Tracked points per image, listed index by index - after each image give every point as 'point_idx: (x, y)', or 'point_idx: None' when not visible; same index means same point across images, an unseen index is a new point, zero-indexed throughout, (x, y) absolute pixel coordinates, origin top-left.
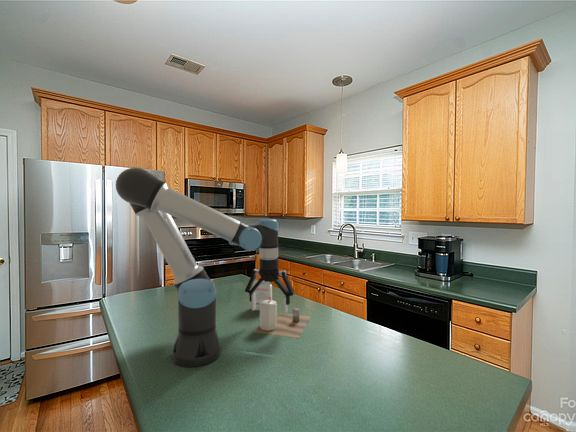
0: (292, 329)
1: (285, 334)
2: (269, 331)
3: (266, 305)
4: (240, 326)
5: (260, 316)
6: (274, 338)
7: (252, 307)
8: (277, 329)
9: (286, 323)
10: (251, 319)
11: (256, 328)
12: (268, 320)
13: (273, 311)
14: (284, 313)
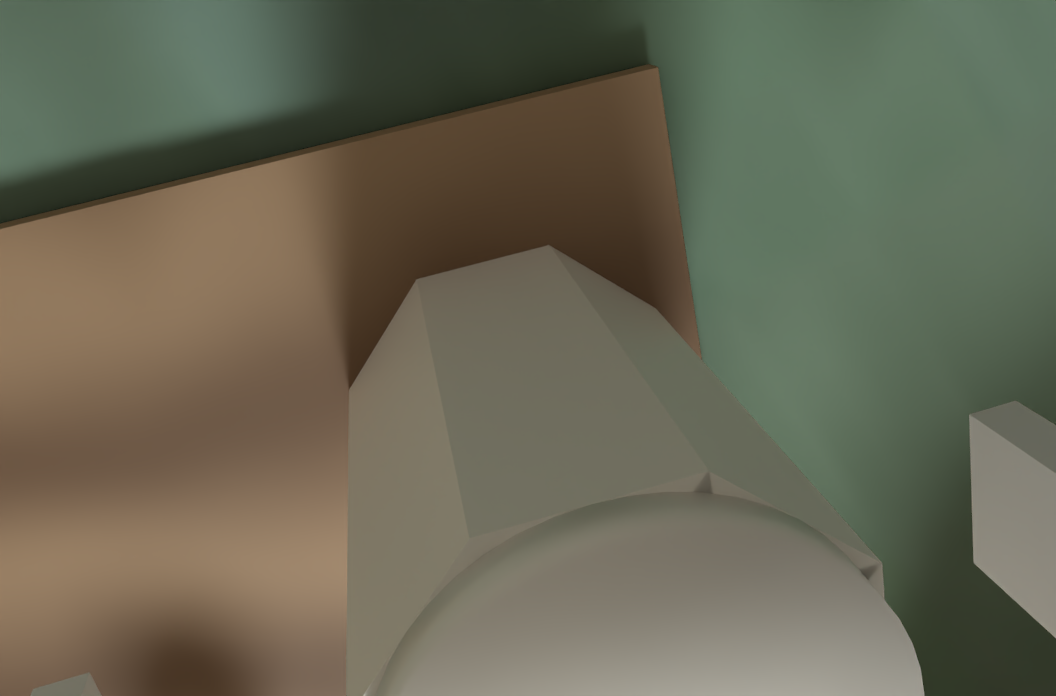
0: (54, 556)
1: (13, 311)
2: (380, 254)
3: (577, 551)
4: (1011, 192)
5: (704, 381)
6: (141, 97)
7: (1052, 445)
8: (301, 408)
9: (316, 683)
10: (964, 515)
11: (682, 232)
12: (440, 352)
13: (373, 576)
14: (74, 683)
